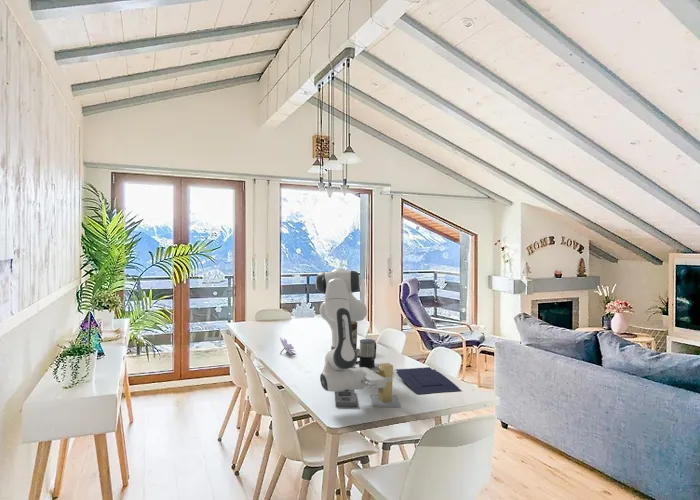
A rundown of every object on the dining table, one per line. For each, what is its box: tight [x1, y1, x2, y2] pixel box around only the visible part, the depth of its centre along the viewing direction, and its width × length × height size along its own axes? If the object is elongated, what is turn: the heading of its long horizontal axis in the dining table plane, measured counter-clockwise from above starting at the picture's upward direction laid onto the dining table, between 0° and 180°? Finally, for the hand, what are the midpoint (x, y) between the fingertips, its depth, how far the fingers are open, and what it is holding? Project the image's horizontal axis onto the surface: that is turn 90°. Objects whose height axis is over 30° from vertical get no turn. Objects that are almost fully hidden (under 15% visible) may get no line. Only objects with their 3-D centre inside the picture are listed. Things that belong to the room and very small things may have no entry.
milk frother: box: [356, 338, 377, 369], centre depth 268 cm, size 14×16×15 cm
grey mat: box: [370, 394, 401, 408], centre depth 207 cm, size 14×12×1 cm
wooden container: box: [351, 321, 358, 350], centre depth 305 cm, size 15×15×22 cm
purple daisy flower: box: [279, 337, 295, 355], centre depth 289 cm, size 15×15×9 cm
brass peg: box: [377, 362, 394, 402], centre depth 207 cm, size 4×4×16 cm
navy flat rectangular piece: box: [395, 366, 462, 395], centre depth 235 cm, size 24×30×4 cm
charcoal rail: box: [334, 389, 358, 408], centre depth 209 cm, size 20×9×2 cm, turn 3°
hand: (385, 375), depth 206 cm, fingers open, 8 cm apart
